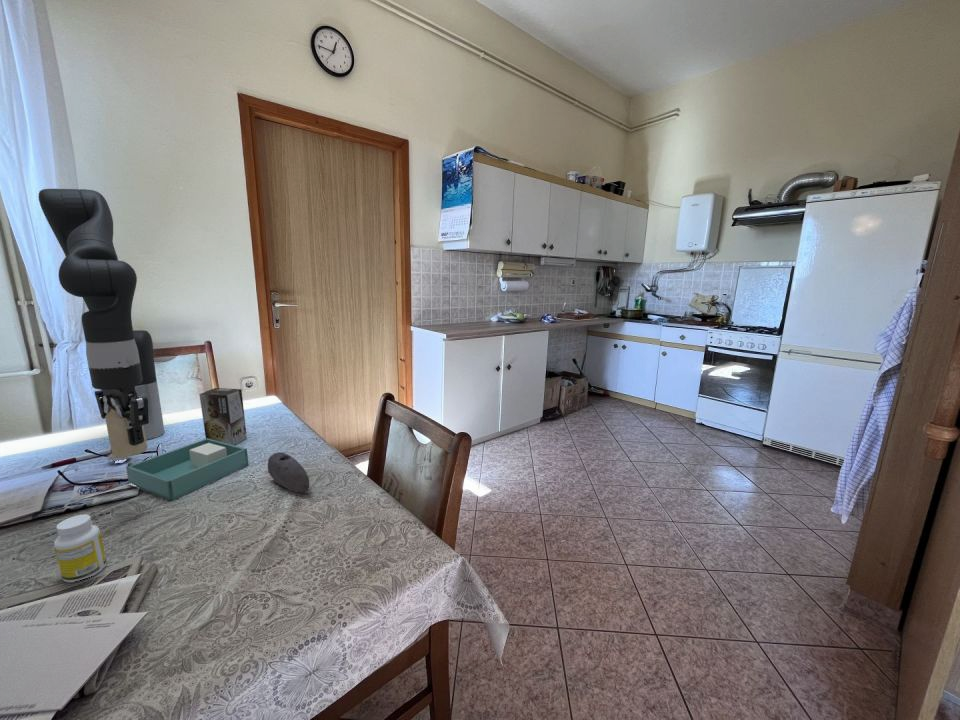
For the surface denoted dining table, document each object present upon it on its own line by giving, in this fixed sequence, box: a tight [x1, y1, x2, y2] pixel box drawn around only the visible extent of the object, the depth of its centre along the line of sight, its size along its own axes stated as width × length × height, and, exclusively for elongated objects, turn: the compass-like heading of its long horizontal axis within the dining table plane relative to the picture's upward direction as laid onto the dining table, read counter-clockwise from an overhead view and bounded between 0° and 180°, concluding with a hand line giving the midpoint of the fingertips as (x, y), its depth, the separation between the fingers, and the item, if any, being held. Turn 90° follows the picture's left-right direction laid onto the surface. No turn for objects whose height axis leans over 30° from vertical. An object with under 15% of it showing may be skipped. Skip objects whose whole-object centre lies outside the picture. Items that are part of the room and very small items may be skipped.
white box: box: [189, 443, 227, 468], centre depth 102 cm, size 7×5×4 cm
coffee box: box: [199, 387, 248, 446], centre depth 117 cm, size 9×6×16 cm
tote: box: [125, 438, 249, 502], centre depth 98 cm, size 16×19×5 cm
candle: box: [105, 409, 148, 458], centre depth 80 cm, size 6×6×10 cm
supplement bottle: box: [53, 514, 107, 583], centre depth 65 cm, size 5×5×10 cm
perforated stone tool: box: [267, 452, 310, 494], centre depth 94 cm, size 15×5×7 cm, turn 51°
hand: (128, 440), depth 81 cm, fingers closed on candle, 5 cm apart
